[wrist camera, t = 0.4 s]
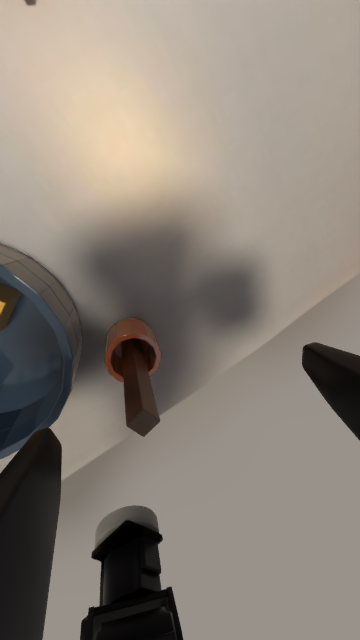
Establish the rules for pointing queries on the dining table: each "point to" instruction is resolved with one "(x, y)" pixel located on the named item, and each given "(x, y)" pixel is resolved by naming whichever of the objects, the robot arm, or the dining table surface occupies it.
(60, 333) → the bowl
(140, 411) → the stick
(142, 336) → the holder
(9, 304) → the mustard block
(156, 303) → the dining table surface
